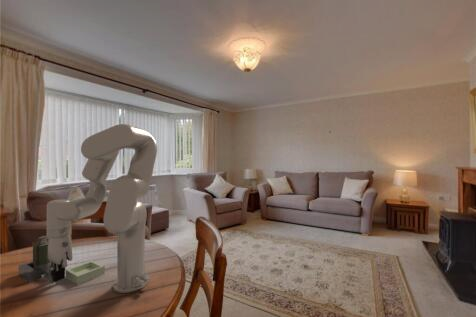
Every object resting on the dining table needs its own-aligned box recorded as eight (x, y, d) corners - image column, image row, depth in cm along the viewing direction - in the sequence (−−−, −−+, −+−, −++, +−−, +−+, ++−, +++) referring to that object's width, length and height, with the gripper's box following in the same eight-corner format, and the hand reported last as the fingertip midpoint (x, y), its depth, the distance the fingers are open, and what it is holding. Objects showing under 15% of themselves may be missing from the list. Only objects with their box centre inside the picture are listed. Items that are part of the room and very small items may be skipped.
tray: (104, 273, 95) (104, 265, 95) (77, 284, 87) (77, 276, 87) (92, 267, 100) (92, 260, 100) (65, 277, 92) (65, 270, 92)
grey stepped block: (62, 279, 91) (62, 266, 91) (51, 283, 88) (51, 270, 88) (53, 274, 95) (53, 262, 95) (42, 277, 92) (42, 265, 92)
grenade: (43, 268, 100) (43, 234, 100) (55, 269, 99) (55, 234, 99) (28, 275, 94) (28, 239, 94) (41, 276, 93) (41, 239, 93)
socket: (65, 269, 99) (65, 260, 99) (29, 282, 88) (29, 272, 88) (53, 263, 105) (53, 254, 105) (18, 274, 95) (18, 265, 95)
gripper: (79, 232, 87) (79, 280, 87) (61, 226, 95) (61, 270, 95) (56, 238, 81) (55, 290, 81) (39, 231, 89) (39, 278, 89)
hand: (59, 279), depth 88 cm, fingers closed
